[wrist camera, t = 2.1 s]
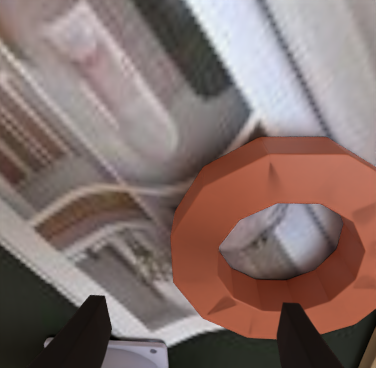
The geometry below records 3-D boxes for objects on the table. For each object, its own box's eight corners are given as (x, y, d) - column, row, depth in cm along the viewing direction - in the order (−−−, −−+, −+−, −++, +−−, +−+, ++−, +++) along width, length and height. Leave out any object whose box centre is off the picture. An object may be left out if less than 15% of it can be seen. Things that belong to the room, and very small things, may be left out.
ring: (179, 302, 19) (176, 335, 17) (171, 136, 14) (165, 153, 12) (356, 309, 18) (376, 343, 16) (419, 136, 13) (461, 154, 11)
